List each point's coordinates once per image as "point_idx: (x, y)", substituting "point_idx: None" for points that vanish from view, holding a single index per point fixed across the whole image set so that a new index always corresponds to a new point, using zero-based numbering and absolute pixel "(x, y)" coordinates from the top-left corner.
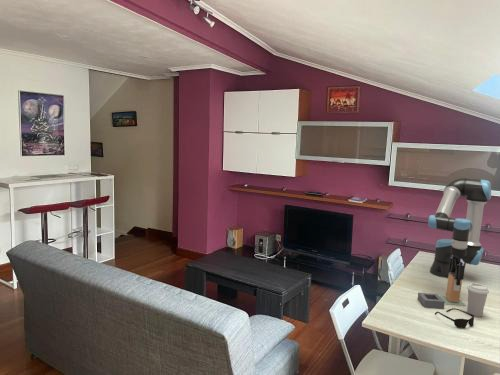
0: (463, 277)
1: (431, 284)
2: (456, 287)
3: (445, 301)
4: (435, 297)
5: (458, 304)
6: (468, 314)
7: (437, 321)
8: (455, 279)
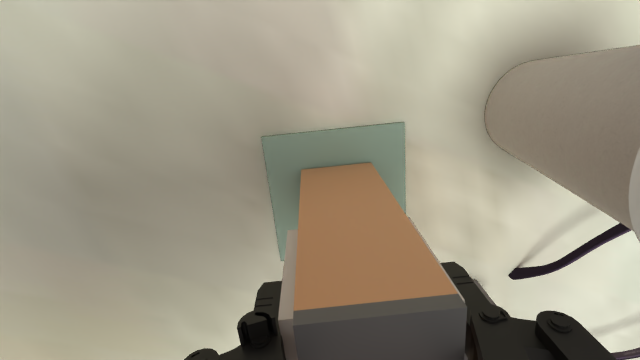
0: (600, 345)
1: (44, 251)
2: None
3: None
4: None
5: (398, 174)
6: None
7: (625, 344)
8: None
